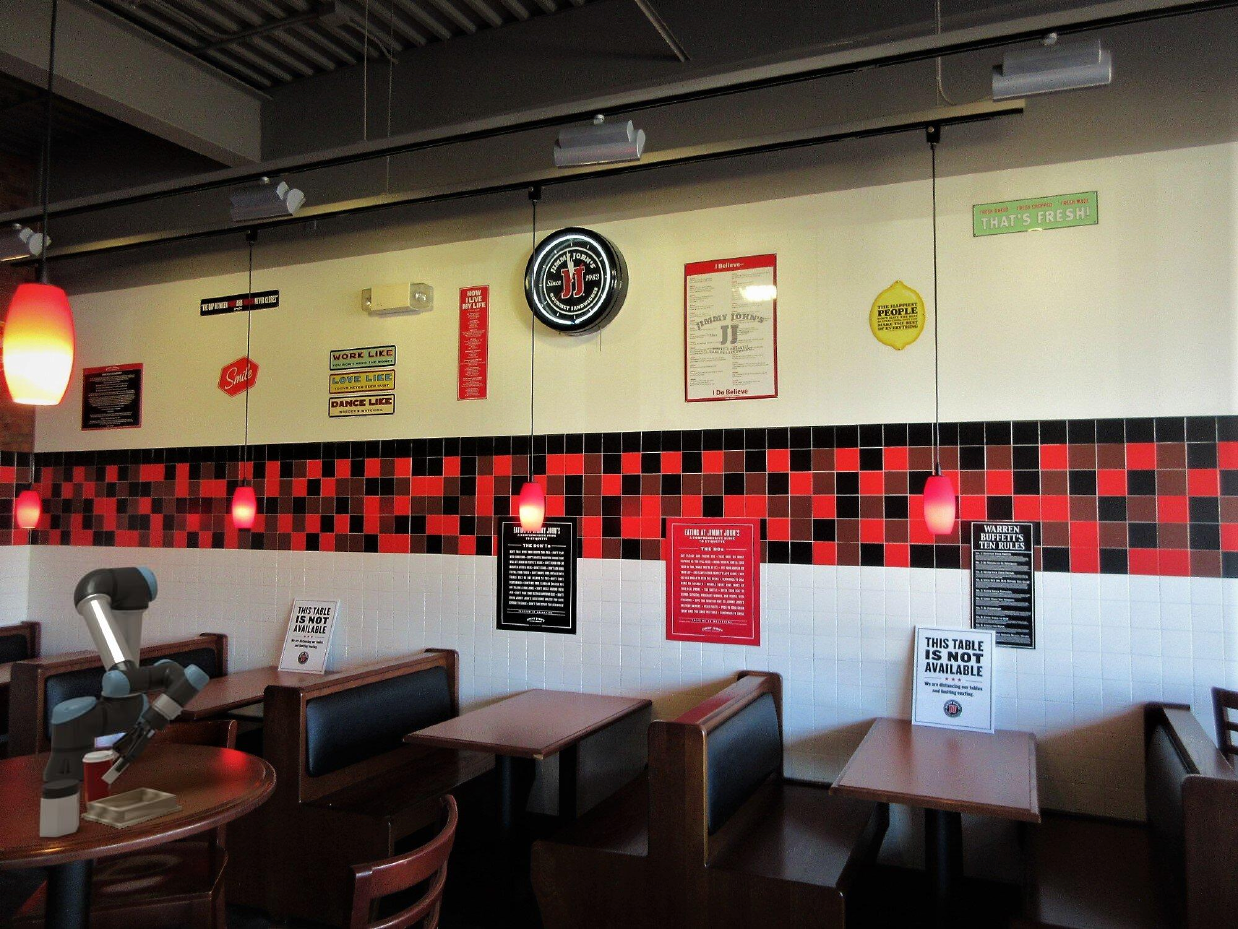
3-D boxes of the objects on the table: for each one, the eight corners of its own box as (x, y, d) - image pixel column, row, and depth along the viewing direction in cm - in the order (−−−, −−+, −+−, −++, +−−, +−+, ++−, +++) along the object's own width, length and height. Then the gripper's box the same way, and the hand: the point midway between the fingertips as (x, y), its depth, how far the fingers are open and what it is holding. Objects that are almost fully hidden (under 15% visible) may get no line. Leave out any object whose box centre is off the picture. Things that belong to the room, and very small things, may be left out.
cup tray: (81, 818, 232) (81, 802, 232) (143, 800, 247) (143, 786, 247) (119, 829, 223) (120, 813, 223) (181, 810, 238) (182, 795, 238)
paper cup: (119, 801, 246) (120, 751, 247) (95, 810, 239) (96, 758, 239) (98, 799, 248) (100, 749, 249) (74, 807, 241) (75, 756, 242)
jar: (43, 829, 224) (45, 781, 225) (80, 824, 227) (82, 777, 228) (36, 840, 216) (38, 790, 217) (75, 835, 219) (76, 786, 220)
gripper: (181, 728, 246) (120, 793, 236) (160, 714, 265) (103, 774, 255) (161, 711, 243) (98, 777, 233) (141, 699, 262) (82, 759, 252)
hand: (101, 776), depth 244 cm, fingers open, 13 cm apart
